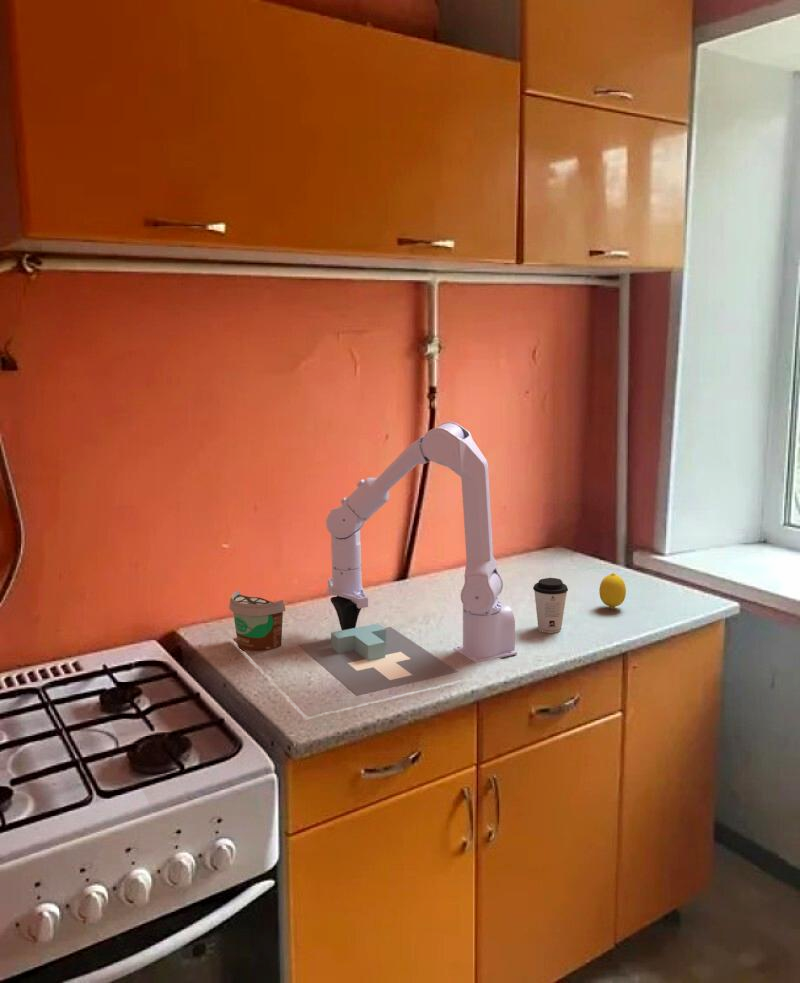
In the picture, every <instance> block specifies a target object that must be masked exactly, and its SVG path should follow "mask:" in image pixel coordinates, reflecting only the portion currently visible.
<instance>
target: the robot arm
mask: <svg viewBox="0 0 800 983" xmlns="http://www.w3.org/2000/svg"><path fill="white" fill-rule="evenodd" d="M430 461H431V462H433V463H436V464H438V465H441V466H444V467H447V468H448V469H449V470H451V471H453V472H454V473H455V474H457V475H458V476H459V477H460V479H461V493H462V507H463V509H462V510H463V525H464V542H465V556H466V562H465V564H466V565H465V569H464V570H465V571H464V584H463V586H462V589H461V591H460V600H461V603H462V645H459V646H453V650H455V651H457V652H458V653H460V654H461V655H462V656H464V657H466V658H468V659H469V660H470V661H472V662H474V663H479V662H484V661H487V660H492V659H497V658H498V659H501V658H505V657H506V658H507V657H510V656H511V657H512V656H514V655H517V654H518V651H517V650H516V649H515V648H516V647H515V646H516V644H515V643H516V618H515V614H514V612H513V610H512V608H511V607H510V606H509V605H508V604H505V603H501V602H500V600H499V598H498V596H500V594H501V593H502V591H503V588H504V580H503V578H502V576H501V574H500V573H499V570H498V562H497V560H496V558H495V557H494V547H493V546H494V545H493V543H494V542H493V528H492V527H493V526H492V511H491V495H490V494H491V493H490V491H491V490H490V476H489V474H490V472H489V464H488V460H487V459H486V457H485V456H484V454H483V453H482V451H481V449H479V446H478V445H477V444H476V443H475V441H474V439H473V437H472V434H471V432H470V431H469V430H467V429H466V428H465V427H463V426H461V425H460V424H459V423H457V422H454V421H444V422H443V423H440V424H439V425H437V427H435V428H432V429H429V430H428V431H427V432H425V434H424V435H423V436H420V437H419V438H418V439H416V440H415V441H413V442H412V443H411V444H409V445H408V446H407V447H406V448H405V449H404V450H403V451H402V452H401V453H400V454H399V455H398V456H397V457H396V459H395V460H394V461H392V463H391V464H390V465H389V466H387V468H386V469H384V471H383V472H381V474H380V475H378V477H367V478H366V479H363V478H362V479H361V480H359V482H357V484H356V486H357V488H356V489H355V490H354V491H353V492H351V493H350V494H349V496H348V497H346V496H345V497H343V498H342V499H341V500H340V503H341V505H339V506H337V507H336V508H335V507H334V508H333V509H331V510H330V512H329V514H328V515H327V516H326V521H325V523H326V524H325V525H326V529H327V531H328V533H329V534H330V540H331V544H330V548H331V550H330V551H331V552H330V554H331V577H330V578H327V588H328V589H327V590H326V594H328V595H329V596H332V597H330V602H331V604H332V605H333V607H334V609H335V612H336V615H337V618H338V623H339V625H340V628H341V630H340V631H342V630H347V629H352V628H357V627H356V626H357V623H358V619H359V615H360V613H361V610H362V609H364V608H368V607H369V597H368V596H367V595H366V593H365V590H364V586H363V582H362V544H361V529H362V527H363V526H364V524H365V522H367V521H368V520H369V519H370V518H371V517H372V516H373V515H375V513H377V511H379V509H381V507H383V506H385V504H386V503H387V502H388V501H389V500H390V490H391V489H392V488H393V487H394V486H395V485H396V484H398V483H399V481H401V479H403V478H404V477H405V476H406V475H407V474H408V473H410V472H411V471H412V470H413V469H414V468H415V467H416V466H417V465H424V464H427V463H429V462H430Z"/></svg>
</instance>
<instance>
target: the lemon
mask: <svg viewBox="0 0 800 983" xmlns="http://www.w3.org/2000/svg"><path fill="white" fill-rule="evenodd" d="M626 595H627V587H626V582H625V581H624V579H623V578H622V577H621V576H620V575H618V574H616V573H613V572H611V574H608V575H606V576H604V577H603V578H602V580H601V582H600V585H599V597H600V601H601V602H602V603H603V604H604V605H605V606H607V607H608V608H609V609H611V610H614V609H615V608H616V607H619V606H620V605H621V604H623V602H624V601H625V599H626Z"/></svg>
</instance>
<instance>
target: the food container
mask: <svg viewBox="0 0 800 983" xmlns="http://www.w3.org/2000/svg"><path fill="white" fill-rule="evenodd" d="M228 608H229V610H230V611H231V612H232V614H233V620H234V627H235V628H234V629H235V633H236V640H237V642H236V643H237V647H238V648H239V650H240V649H241V651H242V652H244V651H251V652H261V651H262V652H263V651H264V652H265V651H270V650H275V649H278V648H280V647H282V638H283V615H284V612H285V611H286V606H285V603H284V600H283V599H281V600H279V601H275V602H272V601H270V600H268V599H265V598H263V597H255V596H254V597H253V596H248V595H247V596H246V595H243V594H242V595H241V590H237V591H235V592H233V594H232V595H231V598H230V600H229V606H228Z"/></svg>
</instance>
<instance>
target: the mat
mask: <svg viewBox="0 0 800 983" xmlns="http://www.w3.org/2000/svg"><path fill="white" fill-rule="evenodd" d="M384 628H385V629H386V644H385V658H380V659H376V660H371V661H368V660H366V659H365V658H364V657H363V656H361V655H360V654H359V653H357V652H356V651H355V650H353V651H349V652H344V653H338V652H336V651H335V650H334V649H333V648H331V638H328V639H322V640H317V641H313V642H312V641H311V642H307V643H302V644H299V645H298V647H300V648H301V649H302V650H303V651H305V652H306V653H307V654H308V655H309V656H310V657H312V659H314V661H316V662H317V663H318V664H319V665H320V666H322V667H323V668H324V669H325V670H326V671H327V672H329V673H330V674H331V675H332V676H333V677H334V678H336V679H337V680H338V681H339V682H340V683H341V684H342V685H344V686H345V687H346V688H347V689H348V690H349V691H351V693H353V694H354V695H355V696H360V695H361V696H362V695H365V694H369V693H374V692H378V691H383V690H386V689H390V688H391V689H392V688H395V687H400V686H404V685H408V684H412V683H416V682H421V681H425V680H430V679H433V678H437V677H441V676H447V675H451V674H455V673H458V670H456V669H455V668H453V667H452V666H450V665H449V664H447V663H446V662H444V661H443V660H441V659H439V658H438V657H437V656H436V655H434V654H432V653H431V652H429V651H428V650H426V649H425V648H423V647H422V646H420V644H418V643H416V642H414V641H412V640H411V639H409V638H408V637H407V636H405V635H404V634H402V633H401V632H399V631H398V630H396V629H395V628H393V627H392V626H388V627H384Z"/></svg>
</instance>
